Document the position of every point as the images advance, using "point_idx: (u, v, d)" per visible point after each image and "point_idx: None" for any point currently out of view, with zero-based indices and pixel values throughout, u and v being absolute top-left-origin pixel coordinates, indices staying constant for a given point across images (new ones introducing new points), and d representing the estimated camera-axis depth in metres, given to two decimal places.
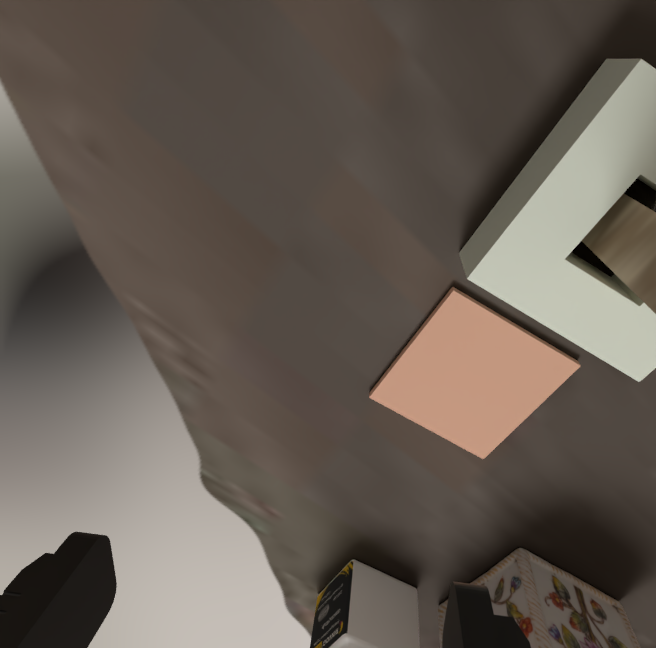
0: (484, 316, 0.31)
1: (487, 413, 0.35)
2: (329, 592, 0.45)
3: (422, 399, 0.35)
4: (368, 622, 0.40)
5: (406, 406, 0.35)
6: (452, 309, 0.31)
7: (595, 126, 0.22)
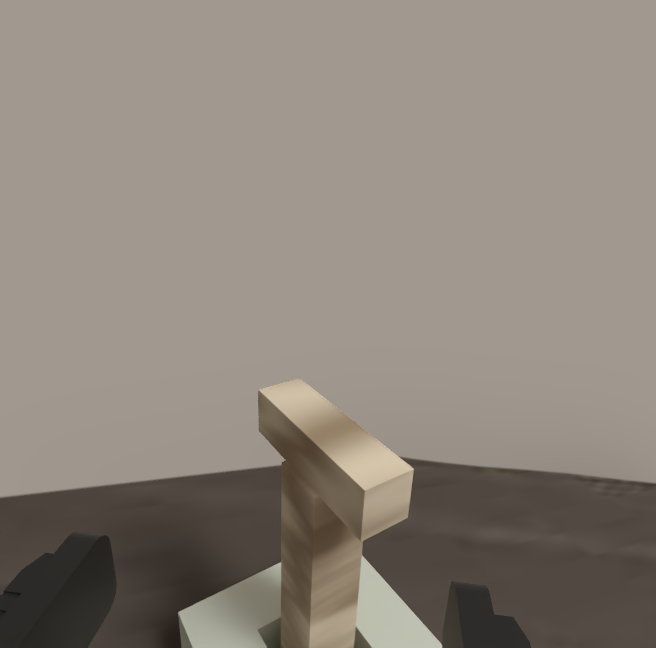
0: None
1: None
2: None
3: None
4: None
5: None
6: None
7: None
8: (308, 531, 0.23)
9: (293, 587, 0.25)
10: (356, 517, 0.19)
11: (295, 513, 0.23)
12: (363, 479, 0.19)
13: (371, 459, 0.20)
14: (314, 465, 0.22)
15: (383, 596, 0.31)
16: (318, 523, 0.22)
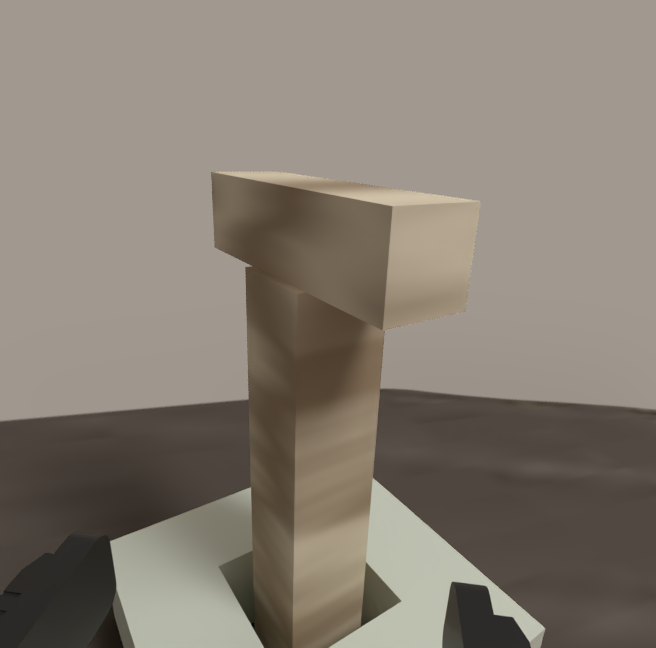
0: None
1: None
2: None
3: None
4: None
5: None
6: None
7: (128, 593, 0.18)
8: (288, 365, 0.13)
9: (267, 484, 0.16)
10: (374, 282, 0.10)
11: (268, 347, 0.14)
12: (388, 202, 0.10)
13: (399, 196, 0.11)
14: (296, 234, 0.12)
15: (404, 524, 0.21)
16: (304, 346, 0.13)
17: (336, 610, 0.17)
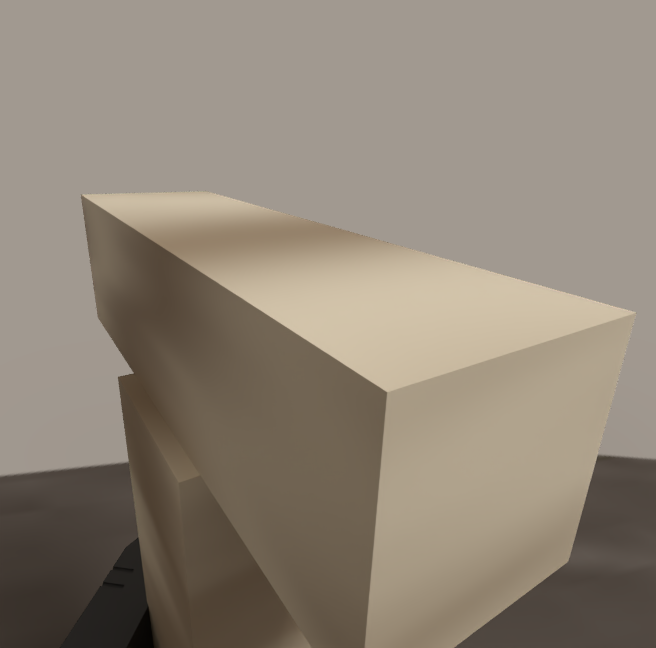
0: None
1: None
2: None
3: None
4: None
5: None
6: None
7: None
8: (180, 597, 0.07)
9: None
10: (332, 577, 0.03)
11: (155, 535, 0.07)
12: (374, 341, 0.03)
13: (408, 286, 0.04)
14: (177, 351, 0.06)
15: None
16: (206, 573, 0.06)
17: None
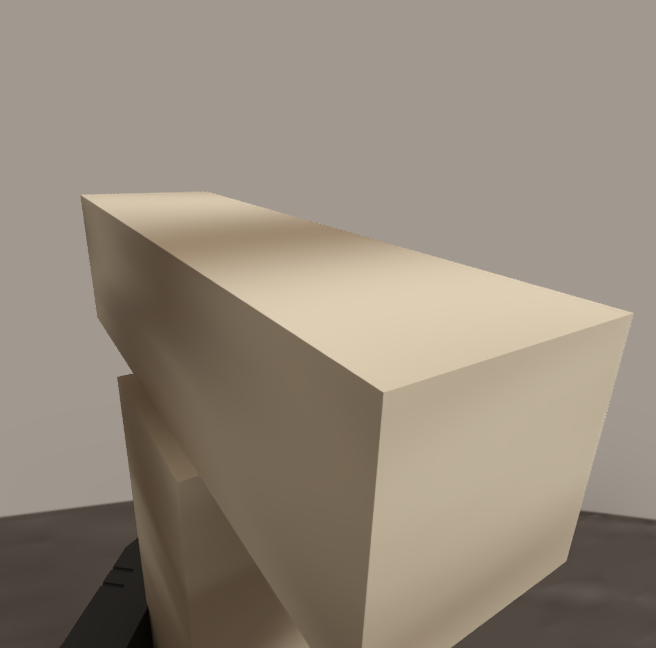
0: None
1: None
2: None
3: None
4: None
5: None
6: None
7: None
8: (179, 596, 0.07)
9: None
10: (330, 577, 0.03)
11: (154, 535, 0.07)
12: (371, 341, 0.03)
13: (405, 286, 0.04)
14: (176, 351, 0.06)
15: None
16: (204, 573, 0.06)
17: None
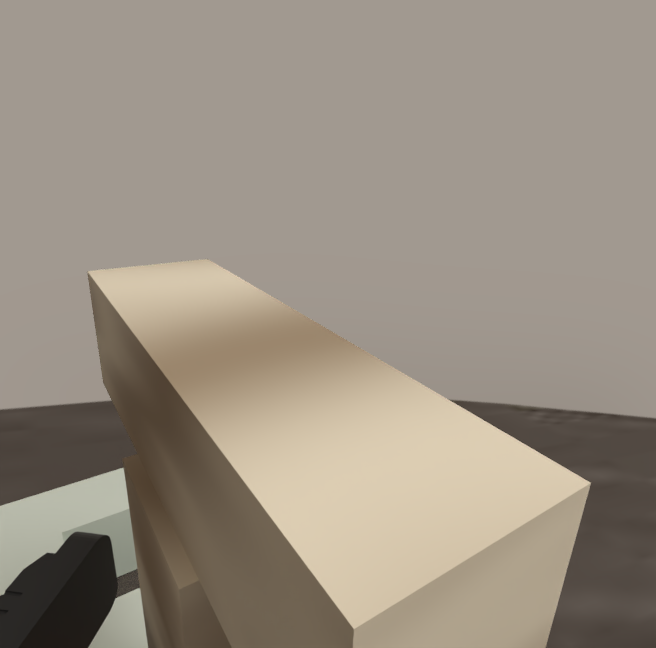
0: None
1: None
2: None
3: None
4: None
5: None
6: None
7: None
8: None
9: None
10: None
11: (156, 612, 0.08)
12: (349, 542, 0.03)
13: (386, 441, 0.05)
14: (177, 466, 0.06)
15: None
16: None
17: None
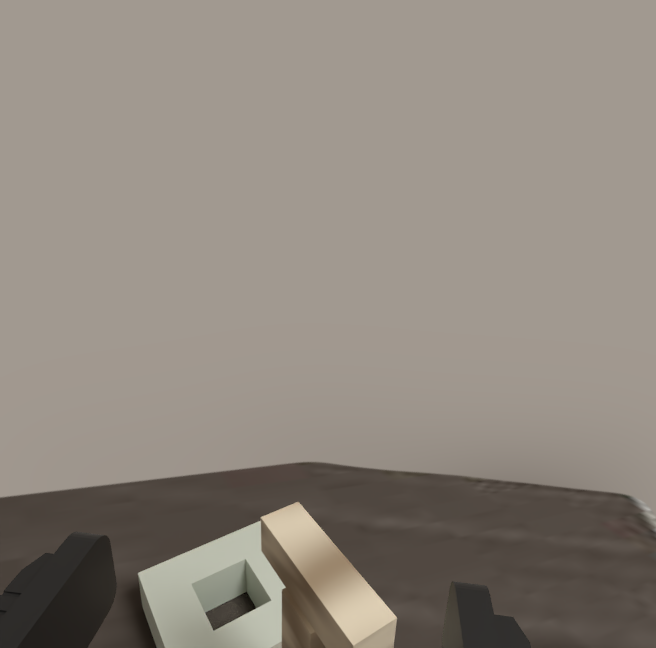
0: None
1: None
2: None
3: None
4: None
5: None
6: None
7: (150, 596, 0.40)
8: None
9: None
10: None
11: (294, 637, 0.26)
12: (352, 631, 0.22)
13: (359, 606, 0.23)
14: (310, 603, 0.24)
15: None
16: None
17: None
